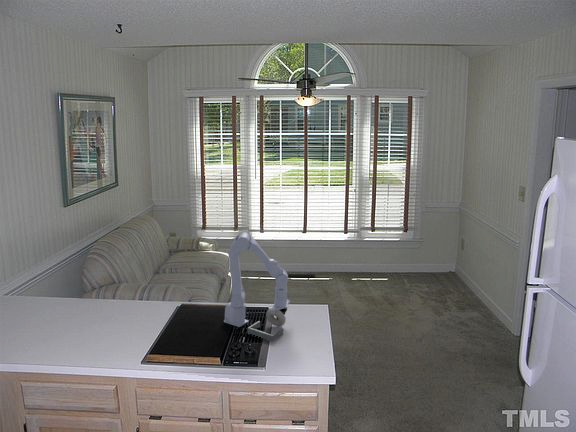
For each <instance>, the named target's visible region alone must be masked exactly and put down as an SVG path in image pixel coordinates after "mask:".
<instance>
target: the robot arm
mask: <svg viewBox="0 0 576 432" xmlns="http://www.w3.org/2000/svg"><path fill="white" fill-rule="evenodd" d="M244 251H247V252H252V253H253V254H255V255H256V256H257V257H258V259H260V260H261V262H262V263H264V266H263V267H264V268H265V270H266V271H267V272H268V273H269V275H271V277H272V278H274V279H275V280H274V282H275V288H274V303H273V305H272V307H271V308H270V309H271V311H270V313H273V314H275V311H277V310H280V311H281V312H282V313H283V314H284V316H286V315H285V314H286V313H287V310H288V308H289V305H290V303H291V300H289V299H288V283H289V275H288V272H287V271H286V270H285V269H284V268H282V267H281V266H280V265H279V262H278V261H277V260H275V259H274V258H270V257H269V256H268V255H267V253H266V252H265V251H264V250H263V248H262V247H261V246H260V245H259V244H258V242H257V240H256V239H255V238H254V237H252V236H251V234H250V233H249V232H246V231H243V232H240V233H239V234H238V235H237V236H235V238H234V240H233V241H232V244H231V245H230V247H229V249H228V253H227V254H228V260H229V270H230V271H229V272H230V280H231V281H230V282H231V299H230V302H228V303H227V304H226V305H225V307H224V320H223V322H224V323H225V324H229V325H232V326H235V327H237V328H240V327H242V326H244V325H246V324H247V323H249V320H248V319H246V308H247V307H246V302H245V299H246V296H247V294H246V291H245V290H244V286H243V283H242V282H243V280H242V279H243V278H242V273H241V262H240V261H241V260H240V254H241V253H242V252H244ZM275 318H276V319H278V318H277V317H276V316H275Z"/></svg>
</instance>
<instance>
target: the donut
mask: <svg viewBox="0 0 576 432" xmlns="http://www.w3.org/2000/svg"><path fill="white" fill-rule="evenodd" d="M270 311H271V308H269V309H267V311H266V315H265V316H266V319H267V321H268V322H269V323H270V324H271V325H272V326H274V327H282V326H284V325H285V324H286V315H284V314H283V313H282V312H281V311H280V310H277V311H275V314H273V313H270ZM276 317H277V318H278V319H277V318H276Z"/></svg>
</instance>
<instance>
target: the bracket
mask: <svg viewBox="0 0 576 432" xmlns="http://www.w3.org/2000/svg"><path fill="white" fill-rule="evenodd" d="M257 328H258V329H257ZM259 328H261V321H260V320H258V321H256V322H254V323H253V324H252V325H249V326H248V327H247V333H248V335H250V334H252V335H251V336H253V335H255V336H254V337H256V336H258V337H257V338H259V337H261V338H260V339H262V338H264V339H263V340H265V339H266V340H265V341H267V342H268V341H269V342H271V343H273V342H275V341H276V340H277V339H279V338H280V337H281V336H284V328H283V327H281V328H280V329H279V330H277V331H276V332H274V333H273V334H271V333H268V332H265V331H263V330H259Z"/></svg>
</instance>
